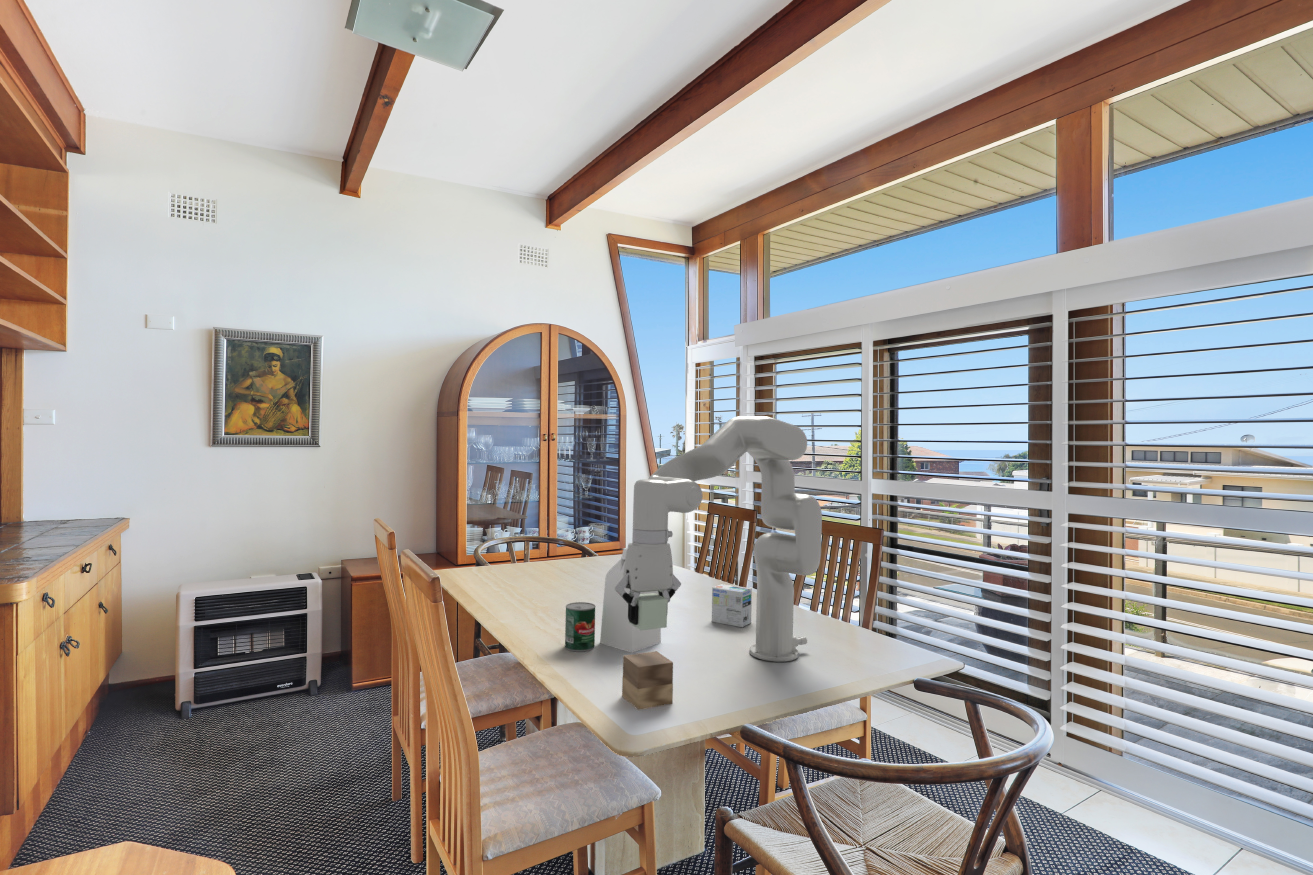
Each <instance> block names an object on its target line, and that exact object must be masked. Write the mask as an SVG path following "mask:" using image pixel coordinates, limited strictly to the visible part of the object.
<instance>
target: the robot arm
mask: <svg viewBox="0 0 1313 875" xmlns="http://www.w3.org/2000/svg"><path fill="white" fill-rule="evenodd" d="M807 448H808V439H807V435H806V432H804V430H803V429H802V428H801V427H800V426H799V427H798V426H797V425H795V424H793V423H789V422H786V421H783V420H780V419H777V418H774V417H770V416H765V415H754V416H753V415H751V416H750V415H747V416H746V415H739V416H734V417H732V418H730V419H728V420H727V421H726V422H724V424H723V425H722V426H720V427H719V429H717V430H716V431H715V432H714V433H712V434H711V436H710V437H709V438H708V439H706V440H705V441H704V443H702V444H701V445H700V446H697V447H694V448H693V449H690V450H688V451H687V452H684V453H682V454H680V455H678V456H676V457H673V458H672V459H670V460H668V461H666V462H665V463H663V464H662V465H661V466H660V467H659V468H657V469H656V470H655V471H654V472H653V473H652V474H651V475H650V476H649V477H648V478H643V479H638V480H636V481H635V483H634V485H633V502H632V503H633V504H632V505H633V506H632V538H631V539H632V541H631V542H628V545H627V547H626V548H627V552H626V557H625V564H624V574H623V578H622V580H621V581H620V582H619V583H618V584H617V585H616V587H615V590H616V591H617V592H618V593H619V595H621V597H622V598H623V599H624V600H625V601H626V602H627V603H628V619H629V622H631V623H632V624H634V625H637V624H638V609H639V607H638V606H637V601H638V598H639V596H640V593H641V592H650V591H657V592H658V595H660V596H662V597H664V598H666V599H667V612H668V607H669V606H668V603H670V602H671V599H672V597H673V596H674V595H675V594H676V591H678V589H680V587H681V586H682V583H681V581H680V580H679V579H678V578H677V576H675V575H674V568H673V566H674V564H673V557H672V556H673V554H672V548H671V543H669V542H668V541H669V538H672V537H673V535H674V534H673V531H672V530H669V529H668V527H669V513H670V512H671V513H673V512H674V513H679V514H680V513H682V514H687V513H691V512H693V511H694V512H695V510H697V509H698V508H699V507H700V505H701V503H702V501H703V490H702V488H701V486H700V485H699V484H698V483H697V481H698V482H699V481H702V480H708V479H712V478H716V477H719V476H721V475H724V474H725V473H726V472H728V470H729V469H730V468H731V467H732V466H734V464H735V463H736V462H737V461H739V459H740V458H742V456H744V454H745V453H748V454H749V455H750V457H751V458H752V459H753V460H754V461H755V463H756V464H757V466H758V468H759V470H760V475H761V477H760V478H761V493H760V496H761V498H760V515H761V520H762V523H763V524H765V525H766V526H767V527H770V528H774V529H779V530H787V531H794V535H790V534H786V533H778V532H767V533H763V534H761V535H759V536H758V538H757V539H756V540H755V542H754V546H753V555H754V556H753V557H754V563H755V568H756V614H755V615H756V616H755V617H756V619H755V622H756V623H755V644H752V645H751V646H749V654H750V655H751V656H752V657H754V658H756V659H760V660H761V661H767V662H777V663H778V662H780V663H781V662H790V661H794V660H796V659H797V658H798V657H799V653H800V652H799V650H798V649H797V647H799V646H802V645H806V644H807V643H808V638H807V637H806V636H801V637H797V636H796V635H794V603H795V602H794V600H795V589H794V583H793V580H792V577H791V575H790V574H794V575H798V576H811V575H813V574H815V573H816V572H817V570H818V569H819V566H820V564H821V557H822V556H821V554H822V534H823V533H822V530H823V528H822V527H823V526H822V525H823V524H822V523H823V516H822V515H823V513H822V509H821V505H820V503H819V501H818V500H817V499H816V497H814V496H812V495H811V494H807V493H806V494H805V493H797V492H796V490H795V488H796V487H795V471H794V468H793V465H792V464H791V462H790V461H797V460H799V459H800V458H802V457H803V456H804V455H805V453H806V452H807ZM624 588H627V589H630V590H629V593H627V592H626V591H625V590H624Z"/></svg>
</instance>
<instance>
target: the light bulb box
mask: <svg viewBox="0 0 1313 875" xmlns="http://www.w3.org/2000/svg"><path fill="white" fill-rule="evenodd" d="M711 590H712V591H711V623H717V624H723V625H727V626H734V627H737V628H738V627H740V628H743V627H746V626H747V625H749V624H751V623H752V604H753V602H752V596H753V595H752V592H753V589H752V587H744V586H738V585H736V586H735V585H730V584H724V583H721V584H718V585H715V586H712V589H711Z"/></svg>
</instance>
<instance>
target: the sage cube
mask: <svg viewBox="0 0 1313 875" xmlns="http://www.w3.org/2000/svg"><path fill="white" fill-rule="evenodd" d="M637 606H638V607H639V609H638V624H637V625H634V624H632V623H631V622H629V623H630V624H631V625H633V626H635V627H636V628H638V629H640V630H649V629H658V628H661V629H664V628H668V626H667V624H668V623H667V622H668V611H667V599H666V598H664V597H662V596H660V595H658V594H655V593H649V594H640V596H639V598H638V601H637Z"/></svg>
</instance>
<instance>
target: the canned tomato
mask: <svg viewBox="0 0 1313 875" xmlns="http://www.w3.org/2000/svg"><path fill="white" fill-rule="evenodd" d="M596 606H597V605H596V604H594V603H592V602H586V601H581V602H580V601H578V602H577V601H576V602H570V603H567V604H565V624H564V626H565V628H564V629H565V630H564V632H565V633H564V635H565V636H564V648H565V650H567V651H570V652H579V653H580V652H581V653H582V652H588V651H591V650H594V649H595V648H596V646H595V644H596V642H595V641H596V639H595V638H596V637H595V635H596V634H595V633H596V632H595V631H596Z"/></svg>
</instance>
